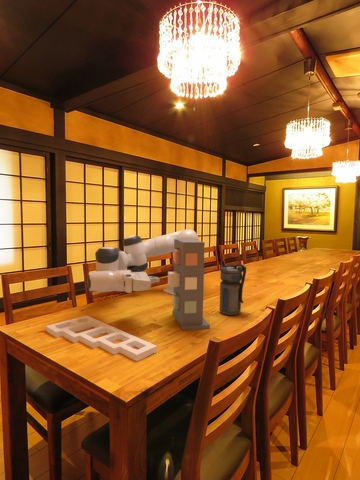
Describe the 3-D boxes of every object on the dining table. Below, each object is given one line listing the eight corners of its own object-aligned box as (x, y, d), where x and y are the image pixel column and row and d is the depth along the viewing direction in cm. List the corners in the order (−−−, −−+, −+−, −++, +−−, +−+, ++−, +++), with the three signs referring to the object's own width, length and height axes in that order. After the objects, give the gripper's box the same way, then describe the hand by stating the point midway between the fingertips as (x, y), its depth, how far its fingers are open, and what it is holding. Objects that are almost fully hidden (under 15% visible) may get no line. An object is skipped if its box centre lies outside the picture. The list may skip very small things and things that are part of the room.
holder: (157, 353, 102) (157, 346, 101) (113, 373, 88) (113, 365, 88) (86, 321, 131) (86, 315, 131) (45, 332, 118) (45, 326, 118)
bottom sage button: (175, 309, 128) (175, 296, 128) (172, 305, 134) (172, 293, 133) (188, 308, 130) (188, 296, 129) (185, 305, 135) (185, 293, 135)
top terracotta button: (175, 263, 127) (176, 250, 126) (173, 261, 132) (173, 249, 132) (189, 263, 128) (189, 250, 128) (186, 261, 133) (186, 249, 133)
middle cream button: (170, 287, 127) (170, 274, 127) (167, 284, 132) (167, 271, 132) (183, 286, 128) (183, 273, 128) (180, 283, 134) (181, 271, 133)
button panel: (182, 330, 121) (184, 242, 118) (172, 313, 143) (173, 238, 140) (209, 328, 124) (211, 242, 121) (195, 311, 145) (197, 238, 142)
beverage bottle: (239, 318, 136) (241, 265, 134) (214, 312, 144) (215, 262, 142) (248, 313, 144) (250, 262, 142) (224, 308, 152) (225, 259, 150)
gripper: (125, 282, 136) (155, 281, 139) (127, 294, 116) (162, 292, 119) (125, 268, 135) (155, 268, 138) (127, 278, 115) (162, 277, 118)
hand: (159, 279), depth 129 cm, fingers closed
